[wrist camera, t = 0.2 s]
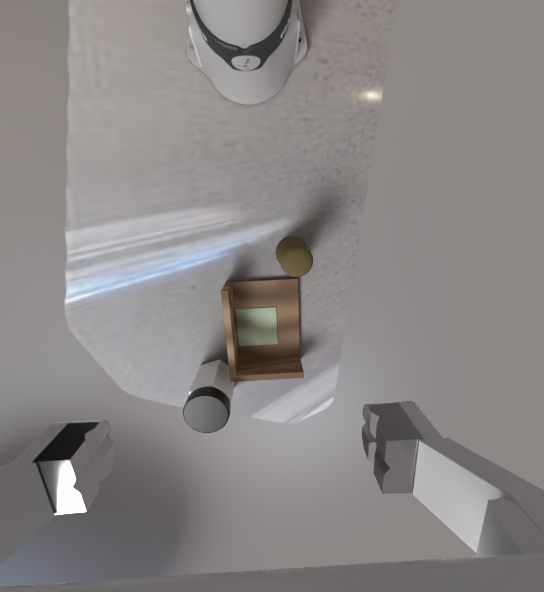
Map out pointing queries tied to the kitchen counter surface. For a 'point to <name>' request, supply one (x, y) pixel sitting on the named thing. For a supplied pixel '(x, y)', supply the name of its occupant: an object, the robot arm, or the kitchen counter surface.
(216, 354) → the kitchen counter surface
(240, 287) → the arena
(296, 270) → the olive pepper mill
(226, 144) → the kitchen counter surface
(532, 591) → the robot arm
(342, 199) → the kitchen counter surface
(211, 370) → the jar
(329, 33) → the kitchen counter surface
